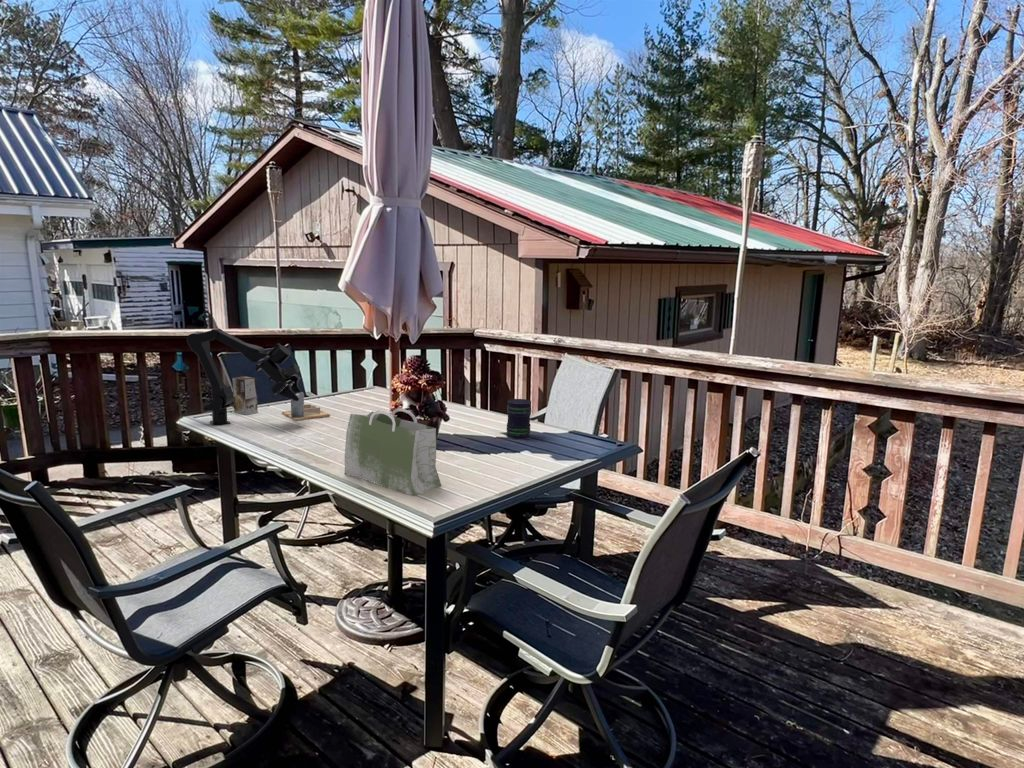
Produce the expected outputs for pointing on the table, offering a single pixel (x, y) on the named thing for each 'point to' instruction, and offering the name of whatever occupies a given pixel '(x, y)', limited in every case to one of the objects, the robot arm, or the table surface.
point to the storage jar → (518, 418)
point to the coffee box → (245, 395)
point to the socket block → (309, 413)
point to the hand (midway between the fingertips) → (300, 398)
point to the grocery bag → (392, 452)
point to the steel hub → (297, 406)
